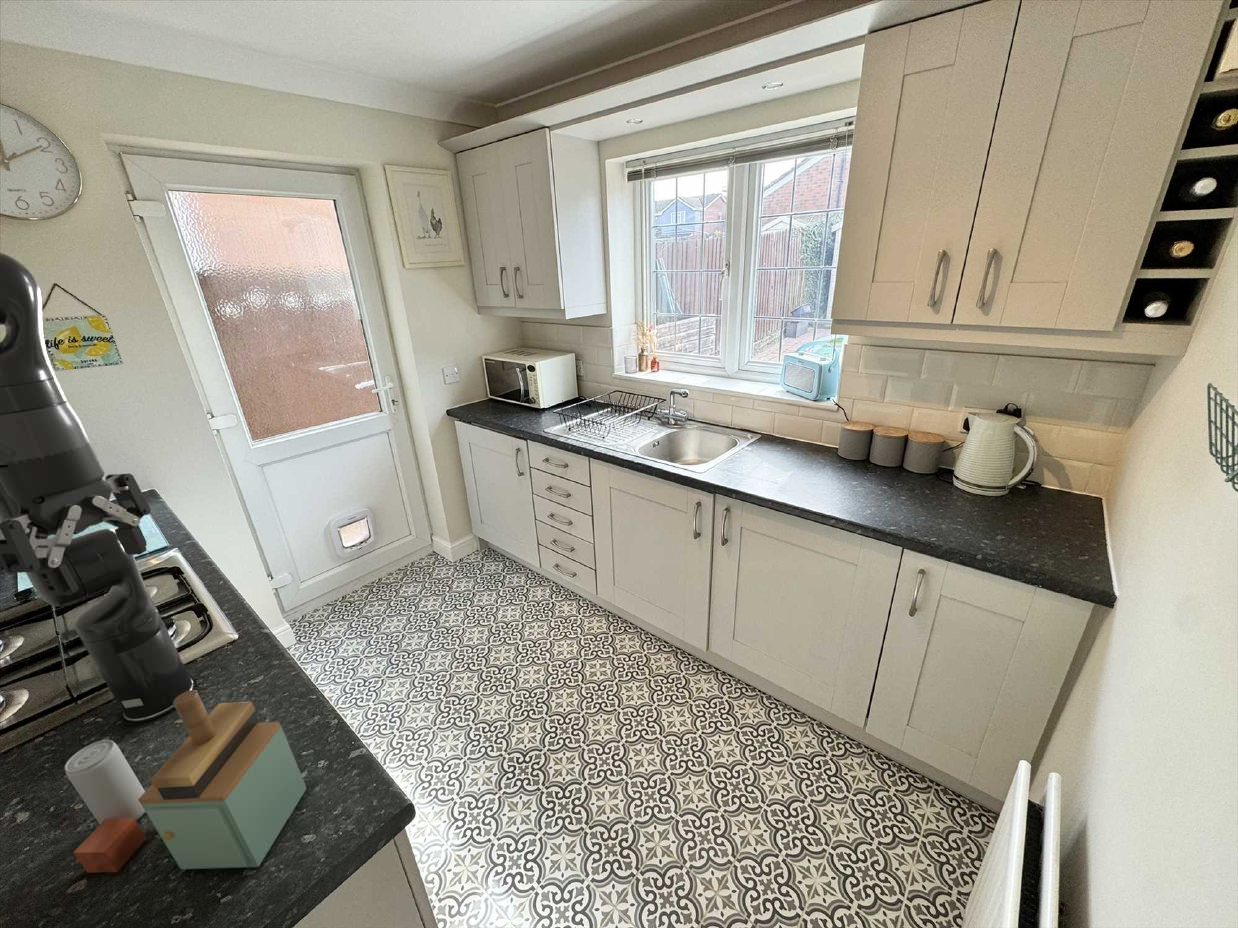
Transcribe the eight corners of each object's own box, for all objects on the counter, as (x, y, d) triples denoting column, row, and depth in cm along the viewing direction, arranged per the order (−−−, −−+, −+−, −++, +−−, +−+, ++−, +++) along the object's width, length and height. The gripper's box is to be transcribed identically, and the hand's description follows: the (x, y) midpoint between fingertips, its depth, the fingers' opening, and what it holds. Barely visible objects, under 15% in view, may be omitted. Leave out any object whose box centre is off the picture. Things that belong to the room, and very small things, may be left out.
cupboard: (239, 790, 70) (206, 724, 65) (307, 787, 70) (279, 721, 65) (174, 877, 60) (130, 806, 55) (253, 874, 59) (216, 803, 55)
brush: (260, 720, 65) (235, 663, 62) (200, 798, 55) (166, 735, 52) (228, 722, 65) (201, 665, 62) (161, 800, 55) (125, 737, 52)
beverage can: (160, 799, 69) (125, 739, 65) (125, 835, 65) (84, 773, 60) (130, 797, 70) (94, 737, 65) (94, 833, 65) (51, 771, 61)
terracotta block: (105, 818, 63) (134, 817, 63) (118, 838, 64) (147, 837, 64) (72, 852, 59) (103, 852, 59) (87, 872, 61) (117, 872, 60)
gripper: (75, 430, 60) (130, 543, 66) (-81, 473, 46) (5, 610, 52) (134, 427, 60) (183, 541, 65) (-5, 470, 46) (72, 608, 52)
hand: (104, 572), depth 59 cm, fingers open, 8 cm apart
